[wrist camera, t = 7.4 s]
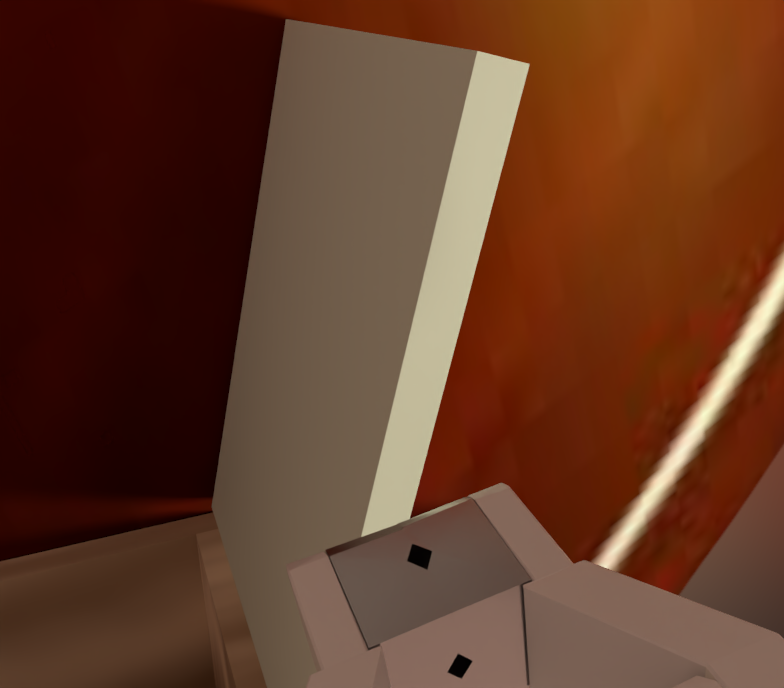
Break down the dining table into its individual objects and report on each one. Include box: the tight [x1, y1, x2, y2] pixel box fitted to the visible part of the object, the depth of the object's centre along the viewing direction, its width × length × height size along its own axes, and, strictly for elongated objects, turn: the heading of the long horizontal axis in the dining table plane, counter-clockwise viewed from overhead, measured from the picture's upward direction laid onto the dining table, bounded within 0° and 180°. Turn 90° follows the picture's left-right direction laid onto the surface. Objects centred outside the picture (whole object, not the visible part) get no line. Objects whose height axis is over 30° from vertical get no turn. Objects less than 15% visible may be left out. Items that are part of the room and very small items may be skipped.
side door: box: [212, 19, 529, 688], centre depth 20 cm, size 2×17×12 cm, turn 166°
